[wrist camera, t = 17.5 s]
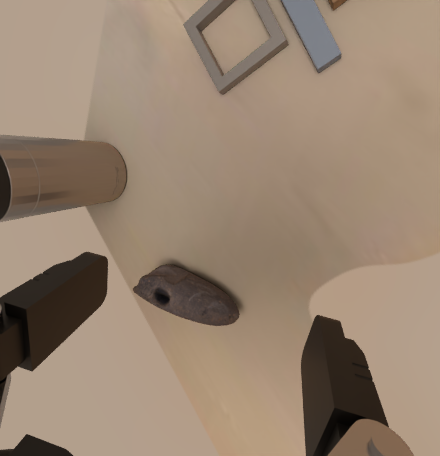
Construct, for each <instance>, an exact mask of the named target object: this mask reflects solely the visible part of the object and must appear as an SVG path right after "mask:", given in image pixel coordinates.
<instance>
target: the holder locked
mask: <svg viewBox="0 0 440 456" xmlns="http://www.w3.org/2000/svg"><path fill="white" fill-rule="evenodd" d="M328 1H329V3H330V5H331V7H332V9H333V10H335V9H336V8H337V7H339V6H340V5H341V4H343V3H344V2H345V1H347V0H328Z"/></svg>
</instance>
